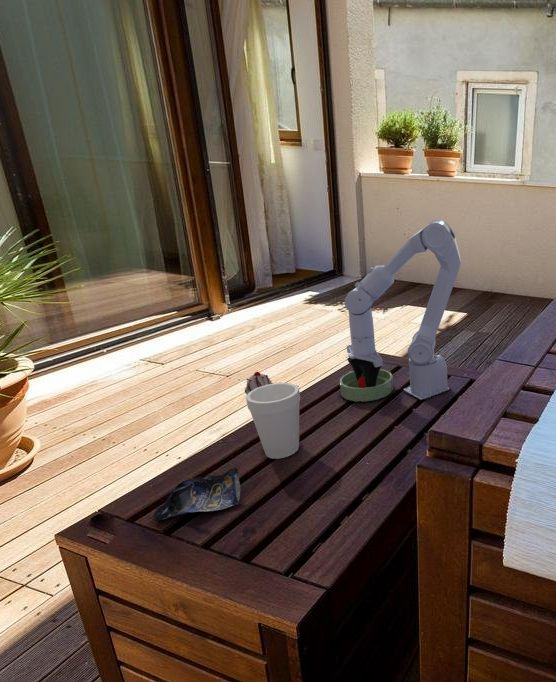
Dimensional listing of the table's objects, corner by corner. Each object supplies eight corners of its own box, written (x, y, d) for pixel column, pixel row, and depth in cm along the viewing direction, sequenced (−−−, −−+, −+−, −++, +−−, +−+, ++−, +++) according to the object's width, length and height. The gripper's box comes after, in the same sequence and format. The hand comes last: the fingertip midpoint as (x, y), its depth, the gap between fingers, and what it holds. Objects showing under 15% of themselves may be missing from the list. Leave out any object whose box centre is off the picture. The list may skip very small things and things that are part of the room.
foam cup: (246, 455, 95) (235, 397, 90) (284, 434, 102) (275, 379, 98) (280, 467, 91) (270, 407, 86) (316, 444, 99) (309, 388, 94)
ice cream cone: (287, 429, 104) (277, 367, 100) (273, 443, 99) (261, 377, 94) (262, 428, 105) (251, 366, 100) (247, 441, 100) (235, 376, 95)
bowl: (376, 377, 132) (375, 364, 131) (403, 392, 123) (402, 378, 122) (332, 391, 123) (330, 377, 122) (357, 408, 115) (355, 393, 113)
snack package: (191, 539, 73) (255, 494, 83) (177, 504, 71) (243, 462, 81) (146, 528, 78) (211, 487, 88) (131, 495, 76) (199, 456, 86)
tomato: (370, 385, 126) (368, 369, 125) (379, 390, 123) (377, 374, 122) (355, 390, 123) (353, 373, 122) (363, 395, 120) (362, 378, 119)
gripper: (333, 332, 120) (339, 380, 125) (362, 346, 111) (367, 398, 115) (359, 326, 125) (363, 373, 130) (388, 339, 115) (392, 389, 120)
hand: (366, 384), depth 123 cm, fingers closed on tomato, 4 cm apart
